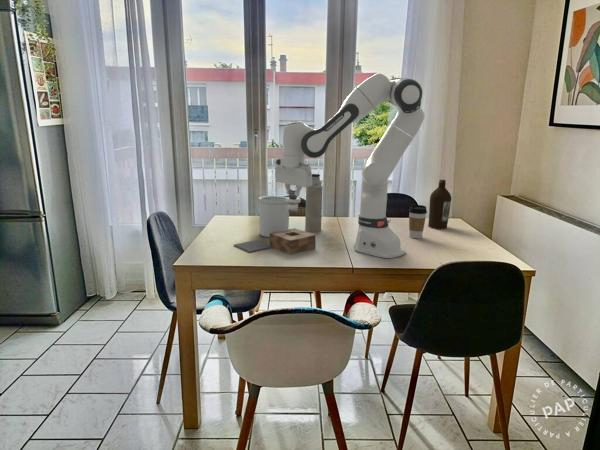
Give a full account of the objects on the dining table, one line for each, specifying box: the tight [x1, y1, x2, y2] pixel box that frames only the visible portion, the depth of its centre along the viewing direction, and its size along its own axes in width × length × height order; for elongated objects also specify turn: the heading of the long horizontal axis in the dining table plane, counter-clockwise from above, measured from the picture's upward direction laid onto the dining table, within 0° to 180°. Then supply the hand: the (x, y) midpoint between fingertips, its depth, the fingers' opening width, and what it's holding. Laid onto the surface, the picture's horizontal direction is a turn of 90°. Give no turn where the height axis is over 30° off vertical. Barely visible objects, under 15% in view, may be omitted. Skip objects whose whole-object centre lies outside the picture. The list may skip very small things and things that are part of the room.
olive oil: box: [427, 179, 452, 230], centre depth 223 cm, size 11×11×25 cm
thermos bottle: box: [304, 173, 324, 233], centre depth 212 cm, size 8×8×28 cm
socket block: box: [269, 227, 317, 255], centre depth 185 cm, size 14×14×6 cm
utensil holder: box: [258, 195, 290, 238], centre depth 204 cm, size 15×15×18 cm
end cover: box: [285, 189, 302, 213], centre depth 181 cm, size 6×6×9 cm
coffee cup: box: [408, 204, 428, 239], centre depth 205 cm, size 8×8×15 cm
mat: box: [233, 239, 274, 254], centre depth 186 cm, size 12×12×1 cm
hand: (293, 195), depth 180 cm, fingers closed on end cover, 3 cm apart
